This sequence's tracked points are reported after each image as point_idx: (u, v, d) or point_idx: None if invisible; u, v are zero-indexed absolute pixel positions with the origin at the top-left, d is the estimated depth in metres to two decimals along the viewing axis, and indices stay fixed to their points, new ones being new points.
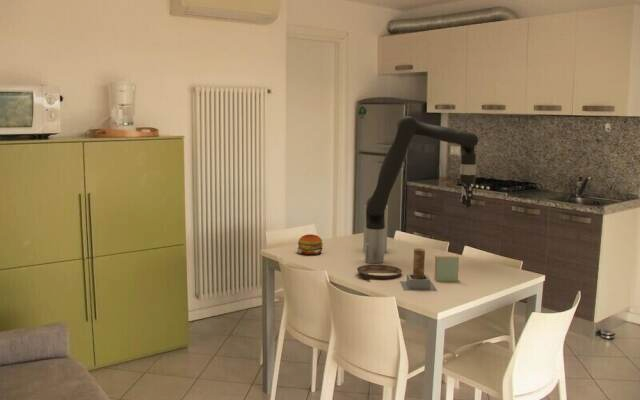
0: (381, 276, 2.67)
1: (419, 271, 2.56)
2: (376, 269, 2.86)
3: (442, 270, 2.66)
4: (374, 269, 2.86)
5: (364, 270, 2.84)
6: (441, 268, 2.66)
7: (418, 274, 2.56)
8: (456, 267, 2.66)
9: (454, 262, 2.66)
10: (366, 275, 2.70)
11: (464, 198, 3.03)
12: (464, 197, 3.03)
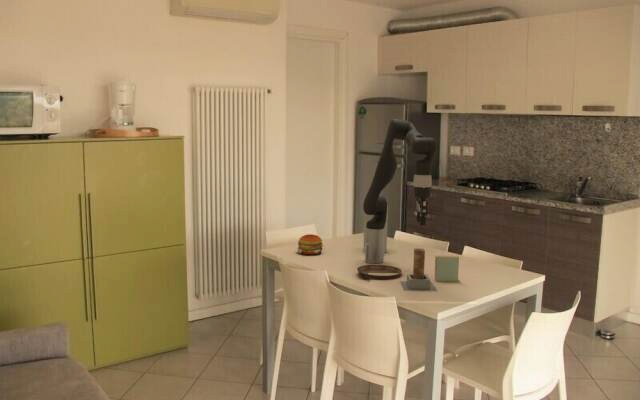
0: (381, 276, 2.67)
1: (419, 271, 2.56)
2: (376, 269, 2.86)
3: (442, 270, 2.66)
4: (374, 269, 2.86)
5: (364, 270, 2.84)
6: (441, 268, 2.66)
7: (418, 274, 2.56)
8: (456, 267, 2.66)
9: (454, 262, 2.66)
10: (366, 275, 2.70)
11: (419, 214, 2.58)
12: (419, 213, 2.58)
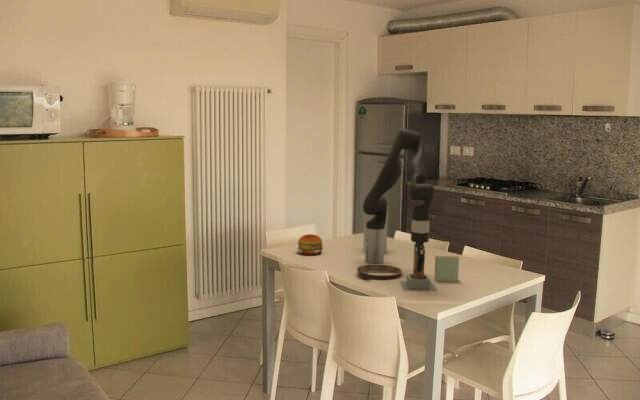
0: (381, 276, 2.67)
1: (419, 271, 2.56)
2: (376, 269, 2.86)
3: (442, 270, 2.66)
4: (374, 269, 2.86)
5: (364, 270, 2.84)
6: (441, 268, 2.66)
7: (418, 274, 2.56)
8: (456, 267, 2.66)
9: (454, 262, 2.66)
10: (366, 275, 2.70)
11: None
12: None
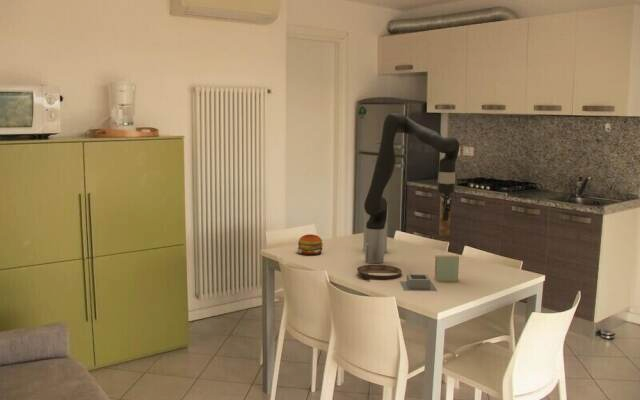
0: (381, 276, 2.67)
1: None
2: (376, 269, 2.86)
3: (442, 270, 2.66)
4: (374, 269, 2.86)
5: (364, 270, 2.84)
6: (441, 268, 2.66)
7: (444, 223, 2.71)
8: (456, 267, 2.66)
9: (454, 262, 2.66)
10: (366, 275, 2.70)
11: None
12: None
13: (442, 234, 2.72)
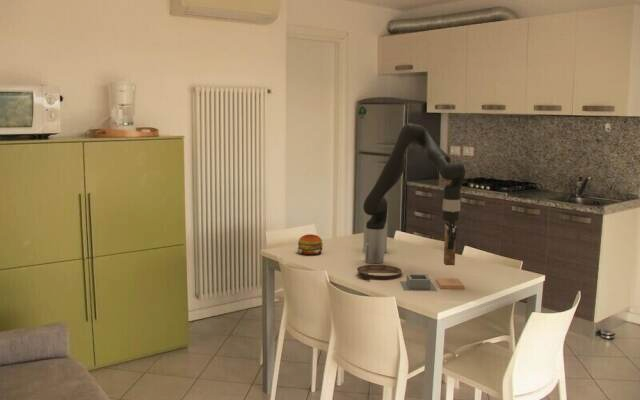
0: (381, 276, 2.67)
1: None
2: (376, 269, 2.86)
3: None
4: (374, 269, 2.86)
5: (364, 270, 2.84)
6: None
7: (449, 252, 2.61)
8: None
9: None
10: (366, 275, 2.70)
11: None
12: None
13: (447, 263, 2.62)
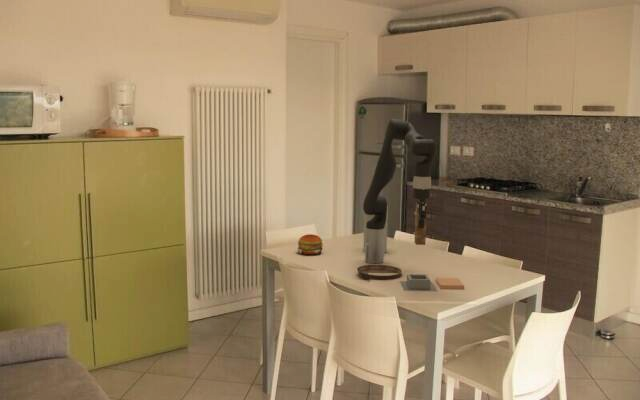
0: (381, 276, 2.67)
1: (420, 228, 2.53)
2: (376, 269, 2.86)
3: None
4: (374, 269, 2.86)
5: (364, 270, 2.84)
6: None
7: (420, 231, 2.53)
8: None
9: None
10: (366, 275, 2.70)
11: None
12: None
13: (418, 243, 2.54)
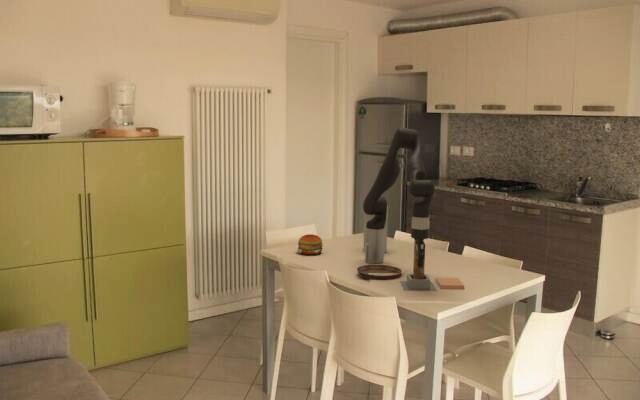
0: (381, 276, 2.67)
1: (419, 271, 2.56)
2: (376, 269, 2.86)
3: None
4: (374, 269, 2.86)
5: (364, 270, 2.84)
6: None
7: (418, 274, 2.56)
8: None
9: None
10: (366, 275, 2.70)
11: None
12: None
13: None
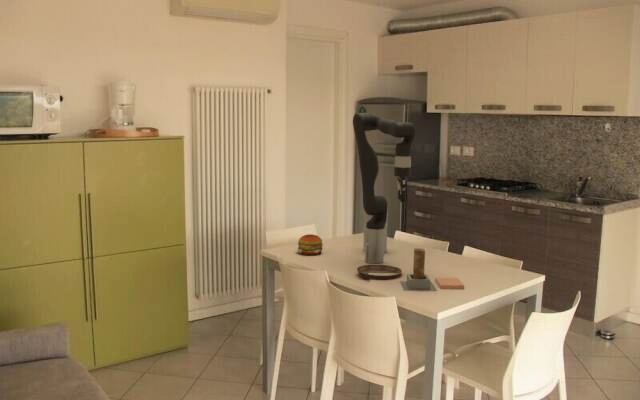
0: (381, 276, 2.67)
1: (419, 271, 2.56)
2: (376, 269, 2.86)
3: None
4: (374, 269, 2.86)
5: (364, 270, 2.84)
6: None
7: (418, 274, 2.56)
8: None
9: None
10: (366, 275, 2.70)
11: None
12: None
13: None
